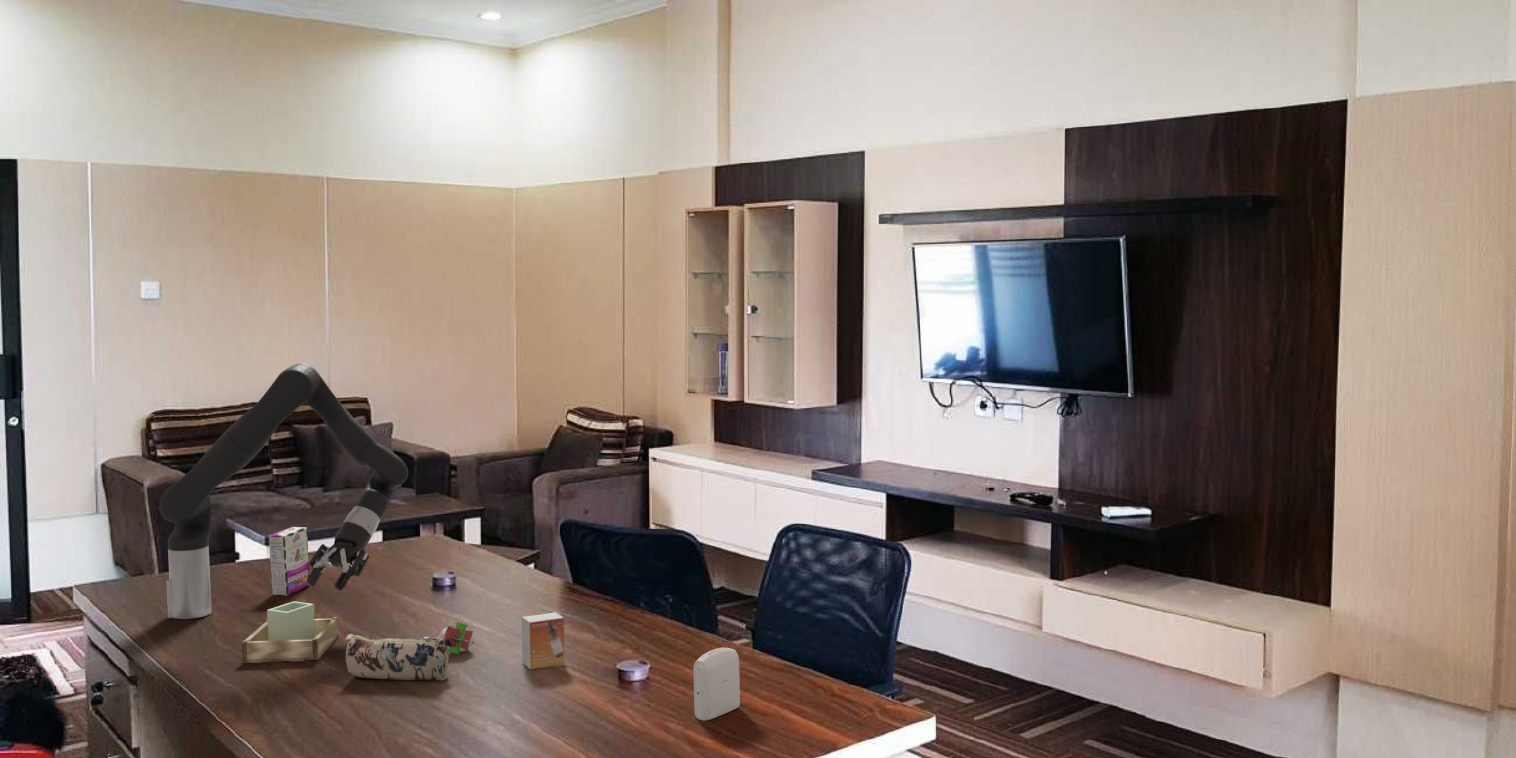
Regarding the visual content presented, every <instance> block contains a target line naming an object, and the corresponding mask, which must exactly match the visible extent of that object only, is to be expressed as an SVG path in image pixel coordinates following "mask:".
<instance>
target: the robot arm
mask: <svg viewBox="0 0 1516 758" xmlns="http://www.w3.org/2000/svg"><path fill="white" fill-rule="evenodd" d="M304 404H306V405H307V406H309V407H310V408H311V409H312V410H313V411H314V412H315V413H316V414H317V415H318V416H319V417H320V418H321V420H323V422H324V424H325V425H326V426H327V429H328V430H329V432H330V433H331V435H332V436H333V438H334V439H335V441H336V442H337V443H338V445H339V446H340V447H341V449H342V450H343V451H345V452H346V453H347V454H348V455H349V456H350V457H351V458H352V459H353V460H354V461H355V462H356V463H358V464H359V465H361V466H365V465H366V466H368V467H370V468H371V469H372V470H374V471H373V472H372V474H371V475H370V477H369V479H368V482H367V483H366V486H365V488H364V491H363V493H362V494H361V495H360V497H359V499H358V500H357V501H356V504H355V505H354V507H353V508H352V509H351V511H350V512H349V513H348V515H347V516H346V517H345V519H344V520H343V523H342V525H340V527H339V529H338V530H337V533H336V534H335V536H334V542H333V544H332V545H331V546H329V547H328V546H326V544H324V543H323V544H320V546H319V548H318V549H317V550H316V552H315V553H314V555H313V556H312V558H311V559H310V560H309V567H310V566H311V568H312V570H311V572H310V573H309V577H308V579H307V583H308V584H309V585H310V586H311V587H315V586H316V584H317V583H318V581H319V579H320V577H321V575H322V574H323V573H324V572H325V571H326V570H329V569H332V568H333V567H340V568H342V570H343V572H341V573H340V574H339V576H338V578H337V580H336V582H335V583H334V588H335V589H336V590H337V591H342V590H343V589H344V588H345V587H346V585H347V584H348V582H349V581H350V579H351V578H353V577H359V576H361V575H362V574H361V573H362V572H363V570H364V568H365V566H366V564H367V562H368V561H369V559H370V555H369V554H368V552H366V550H365V549H366V547H367V546H368V545H369V542H370V541H371V539H372V537H373V536H374V534H375V532H376V530H377V529H378V526H379V524H380V522H381V520H382V518H383V517H384V515H385V513H386V511H387V509H388V507H389V504H390V500H391V498H392V496H393V494H394V492H395V491H396V490H397V489H398V488H399V487H400V486H401V485H403V484H404V483H405V482H406V481H407V479H408V478H409V468H408V466H407V464H406V463H405V462H404V461H403V459H402V458H401V457H399V455H397V454H396V453H394V452H393V451H392V450H390V449H388V448H386V447H385V446H383V445H381V444H380V443H379V442H378V441H377V439H375V438H374V437H373V436H372V434H370V432H368V431H367V429H365V428H364V427H363V426H362V425H361V424H360V423H359V421H357V420H356V419H355V418H354V416H353V415H352V414H351V413H350V412H349V411H348V410H347V409H346V407H344V405H343V404H342V403H341V402H340V400H339V398H337V397H336V395H335V394H334V392H333V391H332V390H331V389H330V387H329V386H328V384H327V383H326V382H325V380H324V379H323V378H322V376H321V375H320V374H319V372H318V371H317V370H316V368H314V367H313V366H312V365H309V364H307V363H295V364H293V365H290V366H289V367H287V368H286V369H284V370H283V371H282V372H280V374H278V375H277V377H276V378H275V380H274V381H273V383H272V384H271V385H270V386H269V388H268V389H267V390H266V391H265V393H264V394H263V395H262V396H261V398H260V399H259V401H258V402H256V404H254V405H253V406H252V407H251V408H250V409H248V410H247V411H246V412H245V413H244V414H242V415H241V416H240V417H239V418H238V419H236V420H235V421H234V422H233V423H232V424H231V425H230V426H229V427H228V428H227V429H226V430H225V432H223V433H222V435H221V436H220V437H219V438H218V439H217V440H216V441H215V442H214V444H212V445H211V446H210V448H209V449H208V450H207V451H206V452H205V453H204V454H203V455H202V457H201V458H200V459H199V460H198V461H197V463H195V465H193V467H191V469H190V470H189V471H188V472H187V473H186V474H184V475H183V476H182V477H181V478H180V479H178V481H176V482H175V483H174V484H172V485H171V486H170V487H168V488H167V489H166V490H165V492H164V493H163V494H162V495H161V497H160V500H159V513H160V515H161V516H162V518H163V519H164V520H166V521H167V522H170V523H173V524H174V528H173V529H172V530H173V531H172V532H171V534H170V535H169V536H168V538H167V553H168V555H167V556H168V574H169V577H168V578H169V579H167V580H166V582H165V583H166V599H167V601H166V603H167V619H174V620H175V619H176V620H191V619H197V618H202V617H206V616H208V615H210V614H212V592H211V573H210V572H211V571H210V567H211V566H210V553H209V552H210V550H209V548H210V547H209V538H210V536H211V532H212V501H211V496H210V494H211V493H212V492H213V491H214V490H215V488H217V487H218V486H220V485H222V484H223V483H224V482H226V481H227V480H228V479H230V478H231V477H233V476H234V475H235V474H237V473H238V472H240V471H241V470H242V469H243V468H245V467H246V466H247V465H249V464H250V462H251V461H252V460H253V459H254V458H255V457H256V456H257V455H258V454H259V453H260V452H261V450H263V448H264V447H266V445H267V444H268V442H269V441H270V439H271V438H272V436H273V435H274V433H275V432H276V430H277V428H278V427H279V426H280V425H281V423H282V422H283V421H284V420H285V419H287V418H288V417H289V416H290V415H291V414H292V413H293V412H294V411H296V410H297V409H298V408H300V407H301V406H302V405H304ZM327 560H328V561H329V562H328V561H327Z"/></svg>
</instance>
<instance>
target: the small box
mask: <svg viewBox="0 0 1516 758" xmlns="http://www.w3.org/2000/svg"><path fill="white" fill-rule="evenodd" d="M521 644H522V647H521V648H522V649H521V651H522V652H521V653H522V656H521V659H522V664H523V665H524V666H525V667H526V668H528V669H529V670H535V669H543V668H549V667H550V668H551V667H558V666H565V664H566V662H565V661H566V657H565V656H566V653H565V651H566V650H565V647H566V646H565V617H563V616H562V615H561V614H559V613H558V612H557V611H556V612H555V611H554V612H550V613H543V614H534V615H527V616H526V615H525V616H521Z"/></svg>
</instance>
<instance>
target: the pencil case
mask: <svg viewBox="0 0 1516 758" xmlns="http://www.w3.org/2000/svg"><path fill="white" fill-rule="evenodd" d="M345 642H347V646H346V651H345V663H346V668H347V671H348V673H349V674H350V675H353V676H355V677H357V678H362V679H374V680H375V679H376V680H377V679H379V680H399V681H400V680H401V681H415V680H421V681H423V680H425V681H445V680H446V679H447V676H448V674H447V672H448V666H449V651H448V650H449V648H450V647H452V644H451V642H450V639H446V640H445V641H444V638H443V639H442V638H441V635H440V634H439V635H438V637H431V636H423V638H378V639H377V638H369V637H365V636H361V635H358V634H355V635H354V634H353V633H349V634H347V636H346V637H345Z"/></svg>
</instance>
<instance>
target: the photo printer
mask: <svg viewBox="0 0 1516 758" xmlns="http://www.w3.org/2000/svg"><path fill="white" fill-rule="evenodd" d="M740 684H741V683H740V657H739V654H738V652H737V651H736V650H735V649H734V648H731V647H730V648H729V647H718V648H714V649H711V650H709V651H708V652H705V653H704V654H703V655H701V656H700V657H699V658H697V659H696V661H695V662H694V664H693V699H694V700H693V701H694V702H693V708H694V709H693V710H694V712H693V713H694V716H695V717H696V719H697V720H700V721H704V722H705V721H709V720H713V719H716V718H717V717H719V716H722V715H725V714H727V713H730V712H731V711H733V710H735V709H737V708H739V707H740V705H741V700H740V699H741V696H740V695H741V691H740V689H741V687H740V686H741V685H740Z"/></svg>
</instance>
